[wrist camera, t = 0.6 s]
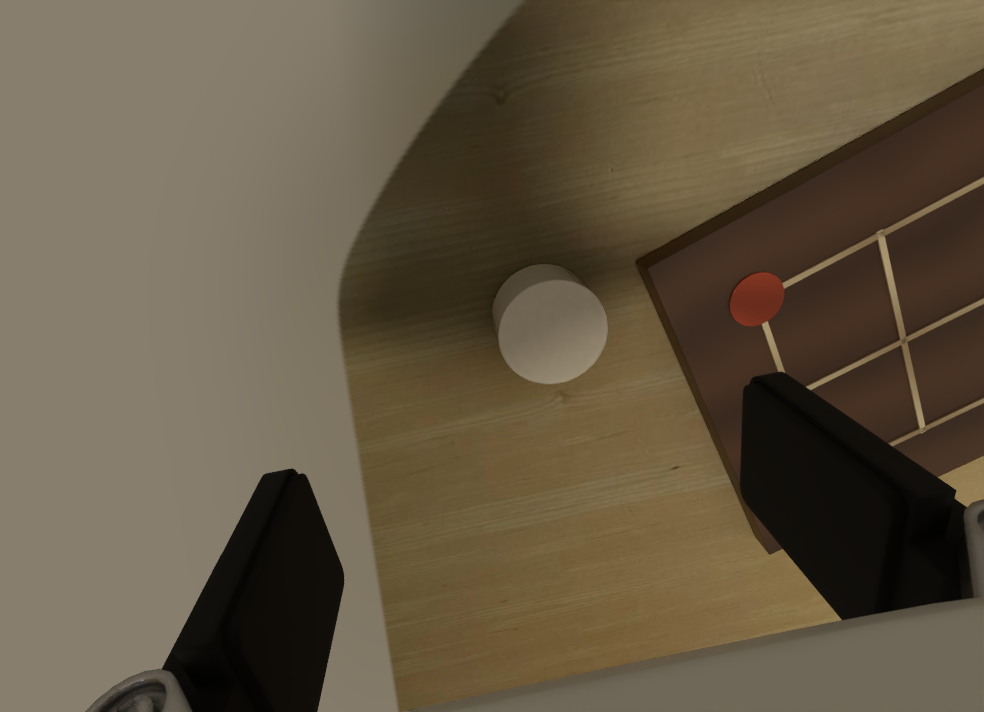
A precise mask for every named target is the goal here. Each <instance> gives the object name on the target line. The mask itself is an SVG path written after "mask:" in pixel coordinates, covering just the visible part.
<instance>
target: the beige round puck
mask: <svg viewBox="0 0 984 712" xmlns="http://www.w3.org/2000/svg"><path fill="white" fill-rule="evenodd" d="M492 321H493V327H494V330H495V334H496V337H497V341H498V344H499V348H500V351H501V354H502V356H503V358H504V360H505V361H506V363H507V364H508V366H509V367H510V368H511V369H512V370H513V371H514V372H515V373H517V374H518V375H519V376H521V377H523V378H525V379H527V380H529V381H532V382H536V383H541V384H557V383H562V382H566V381H569V380H572V379H574V378H576V377H578V376H580V375H581V374H583V373H584V372H585V371H587V370H588V369H589V368H590V367H591V366H592V365H593V364H594V363H595V362H596V360H597V359H598V358H599V356H600V355H601V353H602V351H603V349H604V346H605V343H606V340H607V335H608V320H607V316H606V312H605V310H604V307H603V305H602V303H601V302H600V300H599V299H598V298H597V296H596V295H595V294H594V293H593V292H592V291H591V290H590V289H589V288H588V287H587V286H586V285H585V284H584V283H583V282H582V281H581V280H580V279H579V278H578V277H577V276H576V275H575V274H573V273H572V272H571V271H569V270H567V269H565V268H563V267H560V266H557V265H552V264H537V265H532V266H529V267H526V268H524V269H521V270H519V271H518V272H516V273H515V274H513V275H512V276H511V277H509V278H508V279H507V280H506V281H505V283H504V284H503V285H502V286H501V288H500V289H499V291H498V293H497V295H496V297H495V300H494V303H493V308H492Z"/></svg>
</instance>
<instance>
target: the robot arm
mask: <svg viewBox="0 0 984 712" xmlns="http://www.w3.org/2000/svg"><path fill="white" fill-rule="evenodd" d="M740 491H741V495H742V498H743V500H744V502H745V503H746V505H747V506H748V507H749V508H750V510H751V511H752V512H753V513H754V515H755V516H756V517H757V518H758V519H759V521H760V522H761V523H762V524H763V525H764V527H765V528H766V529H767V530H768V531H769V533H770V534H771V535H772V536H773V537H774V539H775V540H776V541H777V542H778V543H779V545H780V546H781V547H782V548H783V549H784V551H785V552H786V553H787V554H788V555H789V557H790V558H791V559H792V560H793V561H794V563H795V564H796V565H797V566H798V567H799V569H800V570H801V571H802V572H803V573H804V575H805V576H806V577H807V578H808V580H809V581H810V582H811V583H812V584H813V586H814V587H815V588H816V589H817V590H818V592H819V593H820V594H821V595H822V596H823V598H824V599H825V600H826V601H827V602H828V604H829V605H830V606H831V607H832V608H833V610H834V611H835V612H836V613H837V614H838V616H839V617H840V618H841V619H842V620H841V621H836V622H831V623H826V624H821V625H816V626H811V627H806V628H801V629H796V630H791V631H786V632H782V633H777V634H772V635H767V636H762V637H757V638H752V639H747V640H742V641H737V642H732V643H727V644H722V645H717V646H712V647H707V648H702V649H697V650H693V651H688V652H683V653H678V654H673V655H668V656H664V657H659V658H654V659H649V660H644V661H639V662H635V663H630V664H625V665H620V666H615V667H610V668H606V669H601V670H596V671H591V672H587V673H582V674H577V675H572V676H567V677H563V678H558V679H553V680H548V681H544V682H539V683H534V684H529V685H524V686H520V687H515V688H510V689H506V690H501V691H496V692H492V693H487V694H482V695H478V696H473V697H468V698H464V699H459V700H454V701H450V702H445V703H440V704H436V705H431V706H426V707H422V708H417V709H412V710H408V711H403V712H984V499H983V500H980V501H976V502H973V503H971V504H970V505H969V506H968V507H966V506H964V505H963V504H961V503H960V502H959V501H957V500H956V499H954V498H955V494H956V490H955V489H954V488H952V487H951V486H949V485H948V484H946V483H945V482H943V481H942V480H940V479H939V478H938V477H936V476H935V475H933V474H932V473H930V472H929V471H927V470H926V469H924V468H923V467H922V466H920V465H919V464H917V463H916V462H914V461H913V460H911V459H910V458H908V457H907V456H906V455H904V454H903V453H901V452H900V451H898V450H897V449H895V448H894V447H892V446H891V445H890V444H888V443H887V442H885V441H884V440H882V439H881V438H879V437H878V436H876V435H875V434H874V433H872V432H871V431H869V430H868V429H866V428H865V427H863V426H862V425H860V424H859V423H858V422H856V421H855V420H853V419H852V418H850V417H849V416H847V415H846V414H844V413H843V412H842V411H840V410H839V409H837V408H836V407H834V406H833V405H831V404H830V403H828V402H827V401H826V400H824V399H823V398H821V397H820V396H818V395H817V394H815V393H814V392H812V391H811V390H810V389H808V388H807V387H805V386H804V385H802V384H801V383H799V382H798V381H796V380H795V379H794V378H792V377H791V376H789V375H788V374H786V373H784V372H775V373H770V374H765V375H760V376H755V377H753V378H752V379H751V381H750V384H749V385H746V386H745V387H744V389H743V400H742V432H741V464H740ZM343 587H344V572H343V568H342V565H341V563H340V560H339V557H338V555H337V552H336V550H335V547H334V545H333V542H332V540H331V537H330V534H329V532H328V529H327V527H326V524H325V522H324V519H323V516H322V514H321V511H320V509H319V506H318V504H317V501H316V498H315V496H314V493H313V491H312V488H311V486H310V483H309V480H308V478H307V476H306V475H305V474H303V473H302V474H298V473H297V472H296V470H294V469H287V470H282V471H277V472H272V473H267V474H264V475H263V476H262V478H261V480H260V482H259V483H258V485H257V487H256V489H255V491H254V493H253V495H252V497H251V499H250V501H249V503H248V505H247V507H246V509H245V511H244V512H243V514H242V516H241V518H240V520H239V522H238V524H237V526H236V528H235V530H234V532H233V534H232V536H231V538H230V539H229V542H228V543H227V545H226V547H225V549H224V551H223V553H222V555H221V556H220V558H219V560H218V562H217V564H216V566H215V567H214V569H213V572H212V574H211V575H210V577H209V579H208V581H207V583H206V585H205V587H204V589H203V591H202V592H201V594H200V596H199V598H198V600H197V602H196V604H195V606H194V608H193V610H192V612H191V614H190V616H189V618H188V620H187V622H186V623H185V625H184V627H183V629H182V631H181V633H180V635H179V637H178V639H177V641H176V643H175V644H174V647H173V648H172V650H171V652H170V654H169V656H168V658H167V660H166V662H165V664H164V666H163V668H162V670H161V669H157V670H149V671H144V672H141V673H139V674H136V675H134V676H131V677H129V678H127V679H125V680H124V681H122V682H120V683H119V684H117V685H115V686H114V687H112V688H111V689H110V690H108V691H107V692H106V693H105V694H104V695H102V696H101V697H100V698H98V699H97V700H96V701H95V702H94V703H93V705H91V706H90V707H89V708H88V710H87V711H86V712H317V711H318V706H319V701H320V696H321V692H322V687H323V682H324V677H325V673H326V668H327V663H328V659H329V654H330V649H331V644H332V639H333V634H334V630H335V625H336V621H337V616H338V611H339V606H340V602H341V597H342V592H343Z"/></svg>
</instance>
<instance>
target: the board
mask: <svg viewBox="0 0 984 712" xmlns="http://www.w3.org/2000/svg"><path fill="white" fill-rule="evenodd" d="M636 264H637V266H638V269H639V271H640V273H641V275H642V278H643V280H644V282H645V285H646V287H647V289H648V291H649V294H650V296H651V298H652V301H653V303H654V305H655V308H656V310H657V312H658V314H659V317H660V319H661V321H662V324H663V326H664V328H665V330H666V333H667V335H668V337H669V340H670V342H671V344H672V346H673V349H674V351H675V353H676V356H677V358H678V360H679V363H680V365H681V367H682V369H683V372H684V374H685V376H686V379H687V381H688V383H689V385H690V388H691V390H692V392H693V395H694V397H695V399H696V401H697V404H698V406H699V408H700V411H701V413H702V415H703V418H704V420H705V422H706V424H707V427H708V429H709V431H710V434H711V436H712V438H713V440H714V443H715V445H716V447H717V450H718V452H719V454H720V457H721V459H722V461H723V463H724V466H725V468H726V470H727V473H728V475H729V477H730V479H731V482H732V484H733V486H734V489H735V491H736V493H737V495H738V498H739V500H740V502H741V505H742V507H743V509H744V512H745V514H746V516H747V518H748V521H749V523H750V525H751V528H752V530H753V532H754V534H755V537H756V538H757V540H758V541H759V542H760V543H761V545H762V546H763V547H764V549H765V550H766V551H767V552H768V554H773V553H775V552H777V551H779V550H781V549H783V548H782V547H781V546H780V545H779V543H778V542H777V541H776V540H775V539H774V537H773V536H772V535H771V534H770V533H769V531H768V530H767V529H766V528H765V527H764V525H763V524H762V523H761V522H760V521H759V519H758V518H757V517H756V516H755V515H754V513H753V512H752V511H751V510H750V508H749V507H748V506H747V505H746V503H745V502H744V500H743V498H742V495H741V491H740V464H741V432H742V400H743V389H744V387H745V386H746V385H749V384H750V381H751V379H752V378H753V377H755V376H760V375H765V374H770V373H775V372H784V373H786V374H788V375H789V376H791V377H792V378H794V379H795V380H796V381H798V382H799V383H801V384H802V385H804V386H805V387H807V388H808V389H810V390H811V391H812V392H814V393H815V394H817V395H818V396H820V397H821V398H823V399H824V400H826V401H827V402H828V403H830V404H831V405H833V406H834V407H836V408H837V409H839V410H840V411H842V412H843V413H844V414H846V415H847V416H849V417H850V418H852V419H853V420H855V421H856V422H858V423H859V424H860V425H862V426H863V427H865V428H866V429H868V430H869V431H871V432H872V433H874V434H875V435H876V436H878V437H879V438H881V439H882V440H884V441H885V442H887V443H888V444H890V445H891V446H892V447H894V448H895V449H897V450H898V451H900V452H901V453H903V454H904V455H906V456H907V457H908V458H910V459H911V460H913V461H914V462H916V463H917V464H919V465H920V466H922V467H923V468H924V469H926V470H927V471H929V472H930V473H932V474H933V475H935V476H936V477H939V476H941V475H943V474H945V473H947V472H949V471H952V470H954V469H956V468H958V467H960V466H962V465H965V464H967V463H969V462H971V461H973V460H975V459H978V458H980V457H982V456H984V70H982V71H980V72H978V73H976V74H975V75H973V76H971V77H969V78H967V79H966V80H964V81H962V82H960V83H958V84H956V85H955V86H953V87H951V88H949V89H947V90H946V91H944V92H942V93H940V94H938V95H937V96H935V97H933V98H931V99H929V100H927V101H926V102H924V103H922V104H920V105H918V106H917V107H915V108H913V109H911V110H909V111H908V112H906V113H904V114H902V115H900V116H898V117H897V118H895V119H893V120H891V121H889V122H888V123H886V124H884V125H882V126H880V127H878V128H877V129H875V130H873V131H871V132H869V133H868V134H866V135H864V136H862V137H860V138H859V139H857V140H855V141H853V142H851V143H849V144H848V145H846V146H844V147H842V148H840V149H839V150H837V151H835V152H833V153H831V154H830V155H828V156H826V157H824V158H822V159H820V160H819V161H817V162H815V163H813V164H811V165H810V166H808V167H806V168H804V169H802V170H800V171H799V172H797V173H795V174H793V175H791V176H790V177H788V178H786V179H784V180H782V181H781V182H779V183H777V184H775V185H773V186H771V187H770V188H768V189H766V190H764V191H762V192H761V193H759V194H757V195H755V196H753V197H751V198H750V199H748V200H746V201H744V202H742V203H741V204H739V205H737V206H735V207H733V208H732V209H730V210H728V211H726V212H724V213H722V214H721V215H719V216H717V217H715V218H713V219H712V220H710V221H708V222H706V223H704V224H703V225H701V226H699V227H697V228H695V229H693V230H692V231H690V232H688V233H686V234H684V235H683V236H681V237H679V238H677V239H675V240H673V241H672V242H670V243H668V244H666V245H664V246H663V247H661V248H659V249H657V250H655V251H654V252H652V253H650V254H648V255H646V256H644V257H643V258H641V259H639V260H637V261H636Z"/></svg>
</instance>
